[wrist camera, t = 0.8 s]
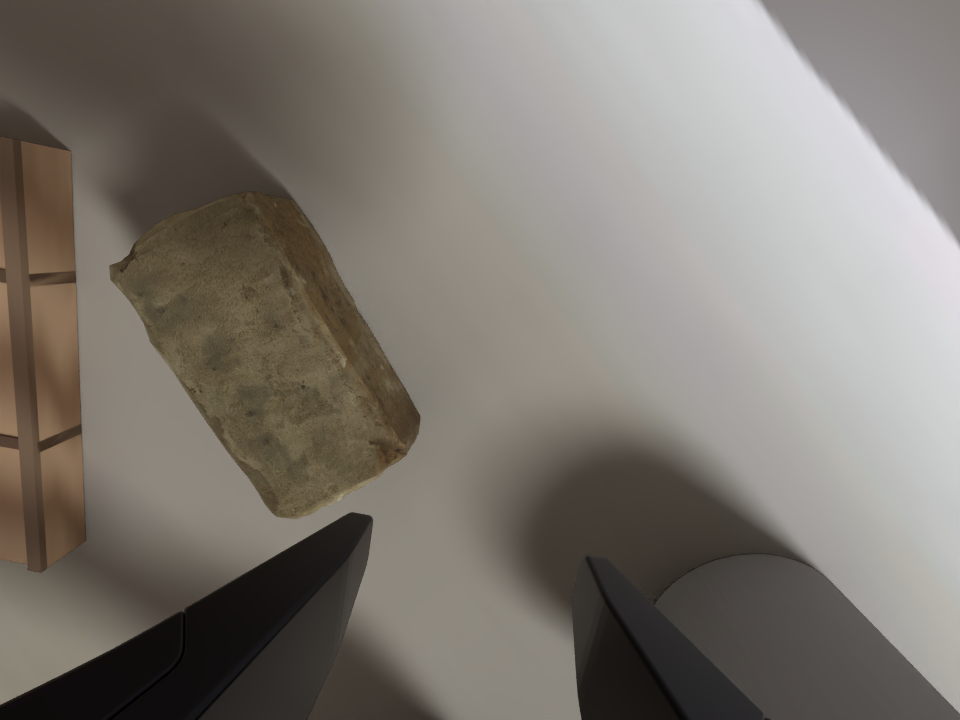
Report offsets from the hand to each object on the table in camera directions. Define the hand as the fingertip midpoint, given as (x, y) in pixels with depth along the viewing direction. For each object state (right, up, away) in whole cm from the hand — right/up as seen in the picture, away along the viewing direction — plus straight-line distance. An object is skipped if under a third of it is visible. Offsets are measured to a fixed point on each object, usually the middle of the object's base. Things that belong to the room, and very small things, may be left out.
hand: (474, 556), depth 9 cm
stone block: (-7, +5, +12) cm, 15 cm away
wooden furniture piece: (-20, +4, +12) cm, 24 cm away
